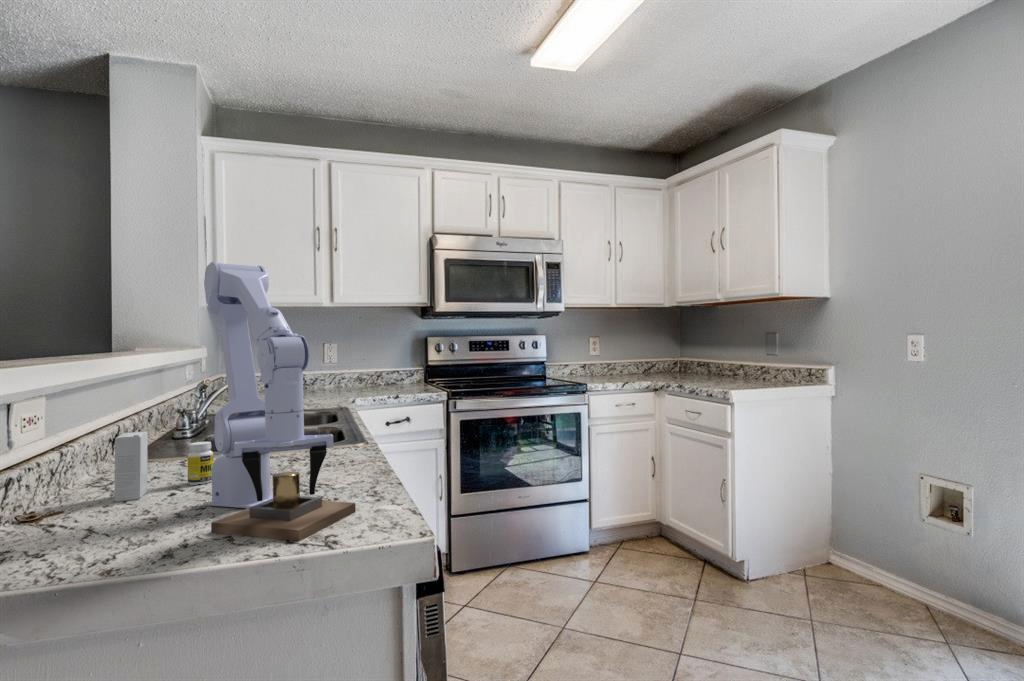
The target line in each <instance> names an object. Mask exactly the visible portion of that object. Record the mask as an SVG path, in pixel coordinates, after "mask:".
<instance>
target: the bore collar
mask: <svg viewBox="0 0 1024 681" xmlns="http://www.w3.org/2000/svg"><path fill="white" fill-rule="evenodd" d="M322 501H323V498H322V497H319V496H316V497H315V496H304V495H303V496H302V495H300V505H297V506H295V507H293V508H290V509H283V508H273V499H272V500H269V501H267V502H264V503H262V504H259V505H256V506H254V507H251V508H249V516H250V518H257V519H269V520H281V521H292V520H294V519H296V518H299V517H301V516H303V515H305V514H307V513H310V512H312V511H314V510H316V509H318V508H321V507H322Z"/></svg>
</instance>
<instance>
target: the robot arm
mask: <svg viewBox="0 0 1024 681" xmlns="http://www.w3.org/2000/svg"><path fill="white" fill-rule="evenodd" d="M204 271H205V272H204V280H203V285H204V294H205V301H206V302H205V303H206V305H207V310H208V311H209V312H210V313H213V314H215V315H216V316H217V319H218V324H219V329H220V336H221V345H222V351H223V359H224V368H225V373H226V374H225V375H226V381H227V382H226V384H227V392H228V397H229V401H228V402H227V403H226V404H224V405H223V406H222V407H220V408H219V410H218V411H217V412H216V414H215V416H214V430H213V431H214V433H213V436H214V437H213V439H214V444H215V448H216V450H217V451H218V452H219V453H220V455H218V456H217V457H216V458H215V459H214V460H213V466H212V482H211V501H209V502H208V503H207V505H208V506H212V507H227V508H238V509H239V508H240V509H248V508H250V507H253V506H256V505H258V504H261V503H263V502H266V501H269V500H271V499H273V492H272V493H271V457H270V456H271V453H275V452H276V453H278V452H288V451H289V452H290V451H298V450H299V451H300V450H309V470H310V471H309V484H308V485H309V486H308V487H309V495H310V496H312V495H313V496H314V495H315V491H316V484H317V480H318V477H319V473H320V471H321V467H322V464H324V463H323V462H324V460H325V459H326V455H327V454H328V450H327V448H328V449H329V448H331V449H332V448H334V435H333V434H332V433H330V434H307V435H306V434H305V419H304V418H305V416H304V414H305V411H304V408H305V406H304V371H305V370H306V369H307V367H308V365H309V361H310V348H309V344H308V342H307V339H306V337H305V336H304V335H299V334H298V333H294V332H293V330H292V329H291V327H290V325H289V324H288V322H287V320H286V319H285V317H284V315H283V313H282V311H280V310H279V309H278V308H276V307H273V306H272V305H271V303H270V300H269V297H268V295H267V293H268V290H269V287H270V286H269V284H270V283H269V282H270V281H269V280H270V279H269V278H270V277H269V274H268V271H267V270H266V268H265V267H264V266H262V265H257V266H255V265H247V264H246V265H245V264H233V263H232V264H231V263H220V262H216V261H211V262H209V264H208V265H207V266H206V268H205V270H204ZM250 333H251V334H250ZM251 335H252V337H253V340H254V341H255V343H256V345H257V355H256V356H257V363H258V367H259V370H260V381H261V384H264V399H263V398H261V397H260V396H259V390H258V386H257V384H258V383H257V377H256V371H255V364H254V356H253V349H252V343H251Z"/></svg>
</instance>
